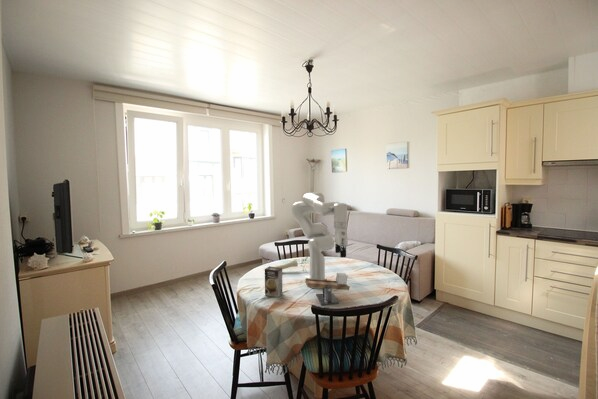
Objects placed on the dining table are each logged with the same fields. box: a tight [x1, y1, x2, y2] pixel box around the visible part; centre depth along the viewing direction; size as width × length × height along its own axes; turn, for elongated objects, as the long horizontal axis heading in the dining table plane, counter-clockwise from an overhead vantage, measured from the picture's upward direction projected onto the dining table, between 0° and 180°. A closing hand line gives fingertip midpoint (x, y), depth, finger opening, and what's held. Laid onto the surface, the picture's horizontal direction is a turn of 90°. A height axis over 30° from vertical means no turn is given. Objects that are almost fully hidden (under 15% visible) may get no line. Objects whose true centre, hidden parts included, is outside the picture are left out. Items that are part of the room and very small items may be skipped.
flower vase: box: [271, 255, 310, 272], centre depth 213 cm, size 12×12×35 cm
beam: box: [304, 279, 350, 291], centre depth 163 cm, size 24×8×2 cm, turn 99°
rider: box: [335, 272, 349, 286], centre depth 164 cm, size 5×4×6 cm
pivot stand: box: [315, 278, 340, 306], centre depth 163 cm, size 10×13×10 cm
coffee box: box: [264, 266, 283, 298], centre depth 171 cm, size 9×6×16 cm
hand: (340, 254), depth 163 cm, fingers open, 9 cm apart
